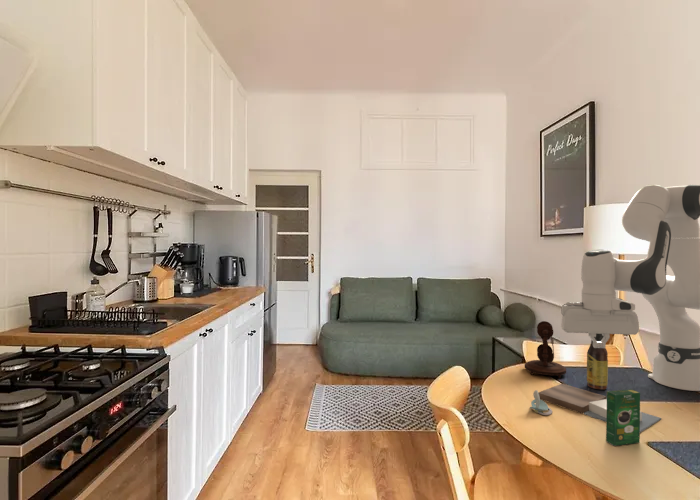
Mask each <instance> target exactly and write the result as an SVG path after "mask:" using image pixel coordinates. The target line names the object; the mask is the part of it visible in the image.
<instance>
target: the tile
mask: <svg viewBox="0 0 700 500" xmlns="http://www.w3.org/2000/svg"><path fill="white" fill-rule="evenodd" d="M589 411H591V412H594V413H596V414H598V415H600V416H603V417H605V418H607V398H606V399H604V400H599V401H593V402H589ZM642 412H643V411H641V410H640V421H642Z"/></svg>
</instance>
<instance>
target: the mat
mask: <svg viewBox="0 0 700 500" xmlns="http://www.w3.org/2000/svg"><path fill="white" fill-rule="evenodd" d="M641 412H642V421H640V433H642V432H644V431H645V430H647V429H649V428H650V427H651V426H653V425H654V424H657V423H658V422H659V421H661V420H662V417H659V416H656V415H654V414H649V413H646V412H643V411H641ZM583 415H585V416H588V417H591V418H594V419H596V420H599V421H601V422H605V423H606V418H605V417H603V416H600V415H598V414H596V413H594V412H591V411H587V412H585V413H584V414H583Z"/></svg>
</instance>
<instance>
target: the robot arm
mask: <svg viewBox="0 0 700 500" xmlns="http://www.w3.org/2000/svg"><path fill="white" fill-rule="evenodd" d="M621 217H622V218H621V226H622V228H623V229H624V231H625V232H626V233H627V234H628V235H630V236H631V237H633V238H635V239H639V240H642V241H645V242H648V243H649V244H648V249H647V254H646V257H645V258H642V259H640V260H639V259H638V260H634V259H633V260H630V259H628V260H627V259H624V260H623V259H618V258H616V257H614V254H613V251H612V250H610V249H593V250H589V251H586V252H585V253H584V254H583V257H582V261H581V273H580V275H581V281H582V288H581V302H577V301H576V302H571V301H569V302H565V303H564V304H562V305H561V307H560V309H561V310H560V313H561V315H562V316H561V317H562V318H561V326H560V327H561V329H562V330H563V331H564V332H565V333H566V334H567V333H570V334H571V333H572V334H588V337H589V338H590V340H592V341H593V347H594V348H606V346H607V345H606V343H607V342H608V340H610V339H611V337H610V335H633V336H634V335H637V334H638V333H639V332H640V326H639V325H640V324H639V323H640V322H639V317H638V314H637V313H636V312H635V310H636V304H634V303H633V302H631V301H627V300H624V299H622V298H619V297H618V298H617V291H619V292H620V291H621V292H630V293H637V294H641V295H642V296H643V298H644V299H646V301H648V302H649V304H651V306H652V308H653V310H654V312H655V313H656V314H655V315H656V317H657V319H658V323H659V342H658V345H657V348H658V353H657V354H656V355H655V356H653V360H652V361H653V364H652V373H648V375H647V377H648V378H650V379H651V380H654V381H655V382H656V383H658V384H660V385H663V386H666V387H669V388H673V389H677V390H683V391H693V392H700V324H699V323H698V322H697V321H696V320H694V319H693V318H692V317H691V316H689V314H688V312H687V310H686V309H692V310H699V311H700V222H699V218H700V184H699V185H697V184H688V185H675V186H674V185H673V186H666V187H664V186H661V185H659V184H648V185H645V186H643V187H641V188H640V189H639V190H638V191H637V192H636V193H635V194H634V195H633V197H632V198H631V200H630V201H629V203H628V204H627V207H626V208H625V210H624V212H623V214H622V216H621ZM667 266H668V267H669V268H670V269H671V271H672V273H673V275H667ZM596 333H597V334H602V336H604V337H603V338H602V340H601V341H596V340H595V338H594V337H596ZM606 349H607V348H606Z"/></svg>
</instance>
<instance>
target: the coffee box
mask: <svg viewBox="0 0 700 500" xmlns="http://www.w3.org/2000/svg"><path fill="white" fill-rule="evenodd" d="M606 399H607V418H606V422H605V423H606V424H605V427H606V428H605V431H606V432H605V442H606V443H608V444H610V445H611V446H614V447H616V446H623V445H624V446H625V445H633V444H638V443H640V439H641V436H640V435H641V434H640V411H641V392H639V391H637V390H634V389H631V388H630V389H629V388H628V389H619V390H607V391H606Z"/></svg>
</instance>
